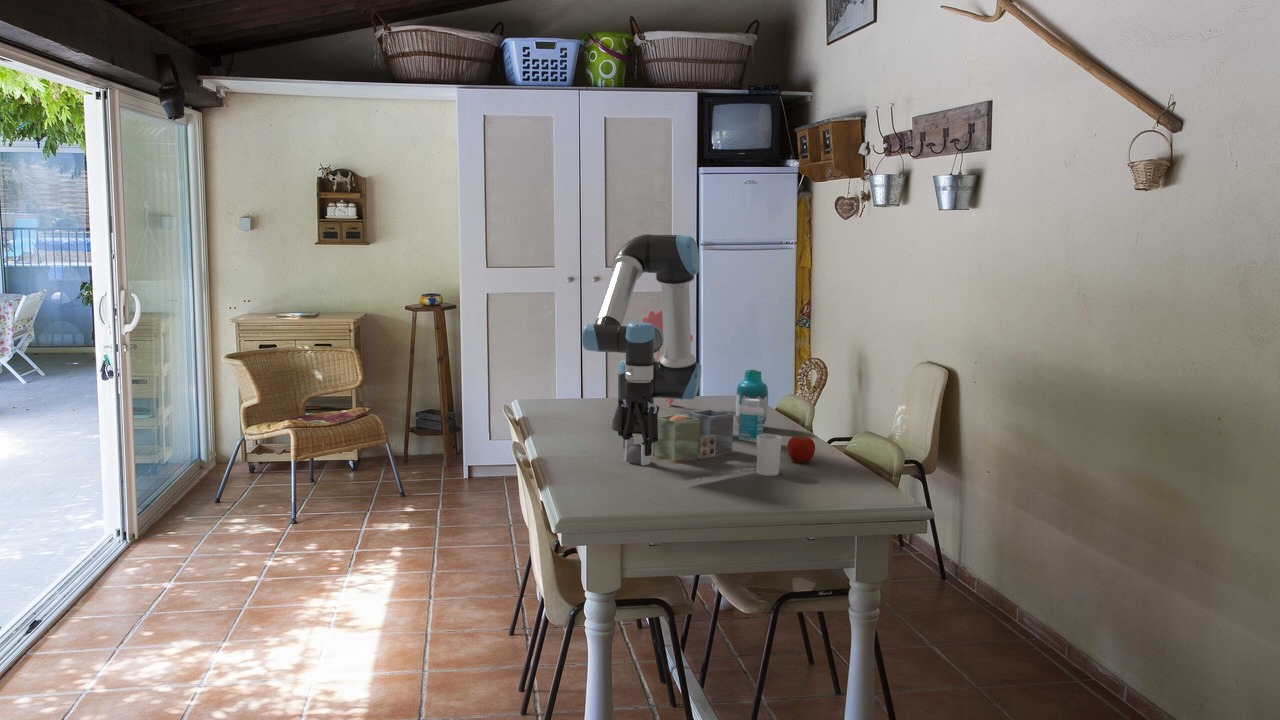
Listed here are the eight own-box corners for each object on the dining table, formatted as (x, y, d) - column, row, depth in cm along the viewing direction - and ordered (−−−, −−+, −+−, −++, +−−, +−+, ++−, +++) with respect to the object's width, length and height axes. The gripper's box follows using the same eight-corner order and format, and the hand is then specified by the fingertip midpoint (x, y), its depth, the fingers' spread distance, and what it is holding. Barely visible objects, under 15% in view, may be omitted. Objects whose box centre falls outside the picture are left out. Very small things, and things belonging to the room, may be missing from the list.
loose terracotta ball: (666, 439, 284) (671, 423, 288) (686, 442, 283) (692, 426, 286) (663, 425, 280) (669, 409, 284) (684, 428, 278) (690, 412, 282)
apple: (797, 466, 283) (798, 438, 282) (780, 460, 290) (782, 433, 289) (819, 464, 287) (821, 436, 286) (802, 458, 294) (804, 431, 293)
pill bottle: (761, 446, 309) (763, 402, 307) (737, 444, 311) (738, 400, 309) (763, 441, 316) (765, 398, 315) (739, 439, 318) (741, 397, 316)
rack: (645, 461, 284) (646, 417, 282) (708, 449, 302) (709, 408, 300) (675, 469, 275) (677, 423, 274) (739, 456, 293) (740, 414, 292)
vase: (771, 427, 341) (773, 370, 338) (761, 432, 331) (763, 373, 329) (740, 423, 345) (743, 367, 343) (730, 428, 335) (732, 371, 333)
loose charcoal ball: (621, 465, 277) (621, 443, 276) (637, 462, 281) (637, 441, 280) (636, 469, 272) (637, 447, 271) (652, 466, 276) (653, 444, 276)
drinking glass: (773, 477, 270) (775, 440, 268) (751, 473, 273) (752, 436, 272) (784, 472, 275) (785, 436, 274) (761, 469, 279) (763, 433, 277)
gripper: (605, 377, 278) (603, 460, 281) (653, 386, 264) (651, 473, 267) (625, 374, 283) (623, 456, 286) (673, 383, 269) (671, 469, 272)
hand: (637, 464), depth 276 cm, fingers closed on loose charcoal ball, 6 cm apart
